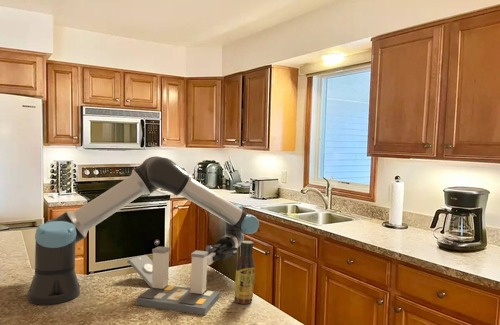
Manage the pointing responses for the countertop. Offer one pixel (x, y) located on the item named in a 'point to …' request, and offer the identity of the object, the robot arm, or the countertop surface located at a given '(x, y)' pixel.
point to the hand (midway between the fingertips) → (207, 261)
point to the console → (178, 299)
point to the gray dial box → (143, 267)
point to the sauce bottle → (245, 274)
